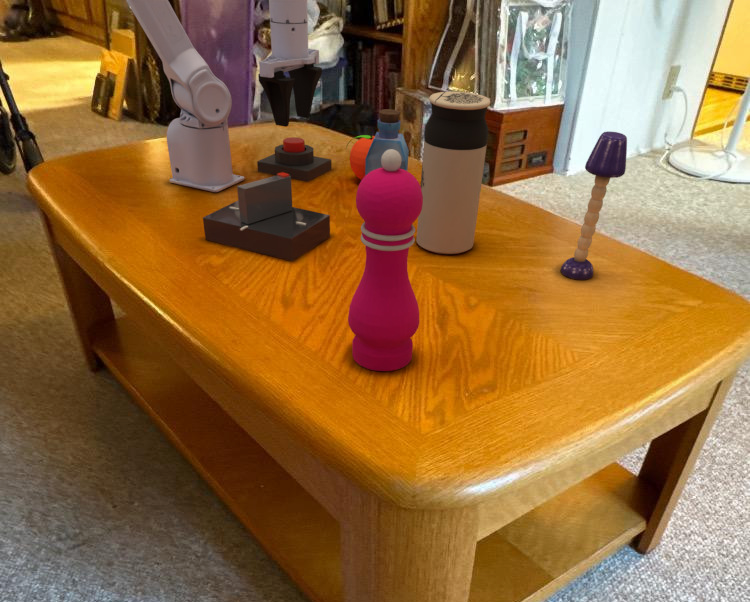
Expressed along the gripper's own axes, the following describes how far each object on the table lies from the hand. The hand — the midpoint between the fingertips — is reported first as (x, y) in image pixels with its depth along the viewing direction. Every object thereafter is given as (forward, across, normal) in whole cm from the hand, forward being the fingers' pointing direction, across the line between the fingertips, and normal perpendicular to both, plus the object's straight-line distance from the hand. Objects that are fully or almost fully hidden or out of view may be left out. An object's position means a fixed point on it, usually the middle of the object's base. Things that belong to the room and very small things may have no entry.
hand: (292, 121), depth 112 cm
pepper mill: (+8, -49, -41) cm, 64 cm away
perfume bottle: (+8, -3, -19) cm, 21 cm away
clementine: (+8, +2, -13) cm, 15 cm away
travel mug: (+8, -17, -35) cm, 40 cm away
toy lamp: (+8, -17, -54) cm, 57 cm away
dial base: (+8, -28, -13) cm, 32 cm away
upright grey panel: (+5, -28, -13) cm, 31 cm away
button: (+5, 0, 0) cm, 5 cm away
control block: (+8, 0, 0) cm, 8 cm away
